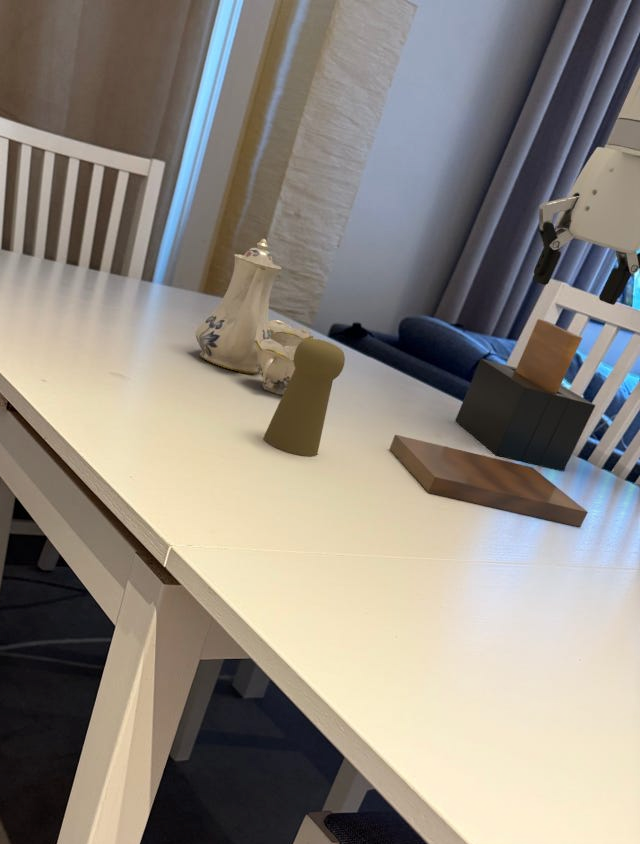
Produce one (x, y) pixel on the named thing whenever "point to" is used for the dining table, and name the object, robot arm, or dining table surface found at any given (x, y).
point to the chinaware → (251, 325)
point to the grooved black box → (523, 416)
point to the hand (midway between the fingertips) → (573, 292)
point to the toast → (548, 355)
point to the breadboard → (486, 481)
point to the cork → (306, 398)
